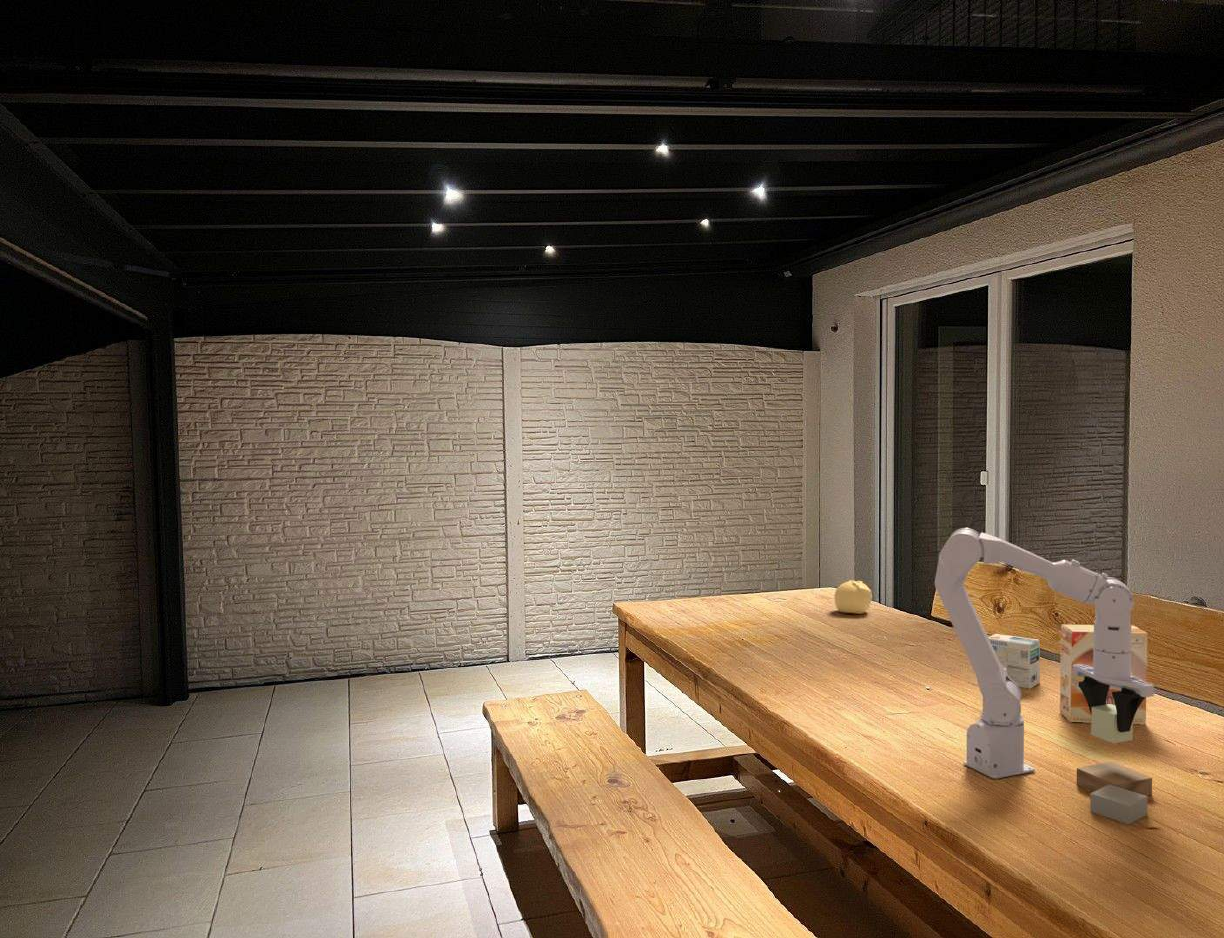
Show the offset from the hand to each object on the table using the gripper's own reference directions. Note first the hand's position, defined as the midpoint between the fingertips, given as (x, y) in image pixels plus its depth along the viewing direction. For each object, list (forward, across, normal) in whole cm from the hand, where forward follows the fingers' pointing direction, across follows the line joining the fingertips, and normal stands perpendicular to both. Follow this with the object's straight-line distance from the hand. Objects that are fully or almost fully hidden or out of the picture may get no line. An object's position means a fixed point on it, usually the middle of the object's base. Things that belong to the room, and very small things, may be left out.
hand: (1111, 726), depth 158 cm
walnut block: (+10, -3, +2) cm, 10 cm away
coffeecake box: (+10, +25, -27) cm, 38 cm away
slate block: (+10, -10, +10) cm, 17 cm away
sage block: (+2, 0, 0) cm, 2 cm away
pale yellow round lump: (+10, +135, -44) cm, 142 cm away
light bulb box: (+10, +53, -31) cm, 62 cm away
